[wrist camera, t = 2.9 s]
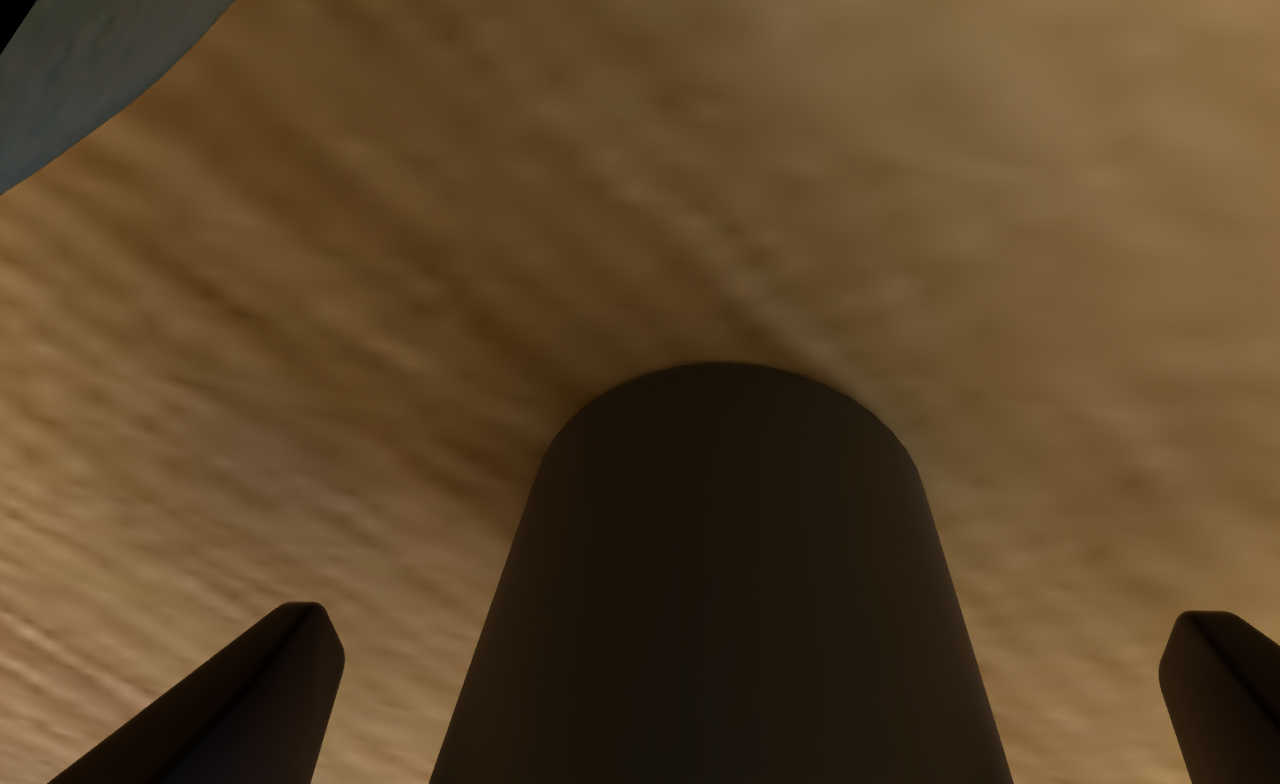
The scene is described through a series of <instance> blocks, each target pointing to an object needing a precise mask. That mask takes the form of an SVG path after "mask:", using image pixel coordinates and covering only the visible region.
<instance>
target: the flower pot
mask: <svg viewBox="0 0 1280 784" xmlns="http://www.w3.org/2000/svg"><path fill="white" fill-rule="evenodd" d="M234 1H235V0H0V195H2V194H3V193H5V192H6V191H8V190H9V189H11V188H13V187H14V186H16V185H17V184H19V183H20V182H22V181H23V180H25V179H26V178H28V177H30V176H31V175H33V174H34V173H36V172H37V171H39V170H40V169H42V168H43V167H44V166H46V165H47V164H49V163H50V162H51V161H53V160H54V159H55V158H57V157H58V156H60V155H61V154H62V153H64V152H65V151H66V150H68V149H69V148H71V147H72V146H73V145H75V144H76V143H77V142H79V141H80V140H82V139H83V138H84V137H86V136H87V135H88V134H90V133H91V132H93V131H94V130H95V129H97V128H98V127H99V126H101V125H102V124H104V123H105V122H106V121H108V120H109V119H110V118H112V117H113V116H115V115H116V114H117V113H119V112H120V111H121V110H123V109H124V108H125V107H127V106H128V105H130V104H131V103H132V102H133V101H134V100H135V99H137V98H138V97H139V96H140V95H141V94H142V93H144V92H145V91H146V90H147V89H148V88H149V87H151V86H152V85H153V84H154V83H155V82H156V81H158V80H159V79H160V78H161V77H162V76H163V75H164V74H165V73H166V72H167V71H168V70H169V69H170V68H171V67H172V66H173V65H174V64H175V63H176V62H177V61H178V60H179V59H180V58H181V57H182V56H183V55H184V54H185V53H187V52H188V51H189V50H190V49H191V48H192V47H193V46H194V45H195V44H196V43H197V42H198V41H199V40H200V38H201V37H202V36H203V35H204V34H205V33H206V32H207V31H208V30H209V28H210V27H211V26H212V25H213V24H214V23H215V22H216V21H217V20H218V18H219V17H220V16H221V15H222V14H223V13H224V12H225V11H226V10H227V8H228V7H229V6H230V5H231V4H232V3H233V2H234Z"/></svg>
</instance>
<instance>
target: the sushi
mask: <svg viewBox="0 0 1280 784" xmlns="http://www.w3.org/2000/svg"><path fill="white" fill-rule="evenodd" d="M429 784H1014V782H1013V779H1012V776H1011V773H1010V769H1009V766H1008V763H1007V759H1006V756H1005V753H1004V750H1003V746H1002V743H1001V740H1000V736H999V733H998V730H997V727H996V723H995V720H994V717H993V713H992V710H991V707H990V704H989V700H988V697H987V694H986V691H985V687H984V684H983V681H982V677H981V674H980V671H979V668H978V664H977V661H976V658H975V654H974V651H973V648H972V645H971V641H970V638H969V635H968V631H967V628H966V625H965V622H964V618H963V615H962V612H961V609H960V605H959V602H958V599H957V595H956V592H955V589H954V586H953V582H952V579H951V576H950V572H949V569H948V566H947V563H946V559H945V556H944V553H943V549H942V546H941V543H940V540H939V536H938V533H937V530H936V527H935V523H934V520H933V517H932V513H931V510H930V507H929V504H928V500H927V497H926V494H925V490H924V488H923V485H922V482H921V479H920V476H919V473H918V470H917V468H916V467H915V465H914V463H913V461H912V459H911V458H910V456H909V454H908V452H907V450H906V449H905V448H904V446H903V445H902V444H901V443H900V441H899V440H898V439H897V438H896V436H895V435H894V434H893V432H892V431H891V430H890V429H889V428H888V427H886V426H885V425H884V424H883V423H882V422H881V421H880V420H879V419H878V418H877V417H876V416H875V415H874V414H872V413H871V412H870V411H868V410H867V409H865V408H864V407H862V406H861V405H860V404H858V403H857V402H855V401H854V400H853V399H851V398H850V397H848V396H846V395H844V394H842V393H840V392H838V391H836V390H834V389H832V388H831V387H829V386H827V385H825V384H822V383H819V382H817V381H814V380H811V379H809V378H806V377H803V376H801V375H798V374H794V373H790V372H786V371H782V370H778V369H774V368H768V367H761V366H753V365H746V364H715V363H712V364H701V365H691V366H682V367H677V368H673V369H668V370H663V371H659V372H655V373H652V374H649V375H646V376H643V377H640V378H637V379H634V380H631V381H629V382H627V383H625V384H623V385H621V386H619V387H617V388H615V389H613V390H611V391H608V392H607V393H605V394H604V395H602V396H601V397H599V398H598V399H596V400H595V401H593V402H592V403H590V404H589V405H587V406H585V407H584V408H583V409H582V410H581V411H580V412H579V413H578V414H576V415H575V416H574V417H573V418H572V419H571V420H570V421H569V422H567V424H566V425H565V426H564V427H563V429H562V430H561V431H560V432H559V433H558V435H557V436H556V437H555V438H554V439H553V441H552V443H551V444H550V446H549V448H548V450H547V451H546V453H545V455H544V456H543V459H542V461H541V464H540V466H539V469H538V472H537V474H536V477H535V480H534V483H533V486H532V489H531V491H530V494H529V497H528V500H527V503H526V506H525V509H524V512H523V514H522V517H521V520H520V523H519V526H518V529H517V532H516V534H515V537H514V540H513V543H512V546H511V549H510V552H509V555H508V557H507V560H506V563H505V566H504V569H503V572H502V575H501V578H500V580H499V583H498V586H497V589H496V592H495V595H494V598H493V600H492V603H491V606H490V609H489V612H488V615H487V618H486V621H485V623H484V626H483V629H482V632H481V635H480V638H479V641H478V643H477V646H476V649H475V652H474V655H473V658H472V661H471V664H470V666H469V669H468V672H467V675H466V678H465V681H464V684H463V687H462V689H461V692H460V695H459V698H458V701H457V704H456V707H455V709H454V712H453V715H452V718H451V721H450V724H449V727H448V730H447V732H446V735H445V738H444V741H443V744H442V747H441V750H440V753H439V755H438V758H437V761H436V764H435V767H434V770H433V773H432V775H431V778H430V781H429Z"/></svg>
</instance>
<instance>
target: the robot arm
mask: <svg viewBox="0 0 1280 784" xmlns="http://www.w3.org/2000/svg"><path fill="white" fill-rule="evenodd" d="M344 663H345V654H344V649H343V646H342V644H341V641H340V639H339V637H338V635H337V633H336V631H335V628H334V626H333V624H332V622H331V620H330V618H329V616H328V613H327V611H326V609H325V608H324V607H323V606H322V605H321V604H319V603H317V602H287V603H284V604H282V605H280V606H278V607H277V608H275V609H274V610H273V611H271V612H270V613H269V614H268V615H266V616H265V617H264V618H262V619H261V620H260V621H258V622H257V623H256V624H254V625H253V626H252V627H251V628H249V629H248V630H247V631H245V632H244V633H243V634H241V635H240V636H239V637H238V638H236V639H235V640H234V641H232V642H231V643H230V644H228V645H227V646H226V647H224V648H223V649H222V650H221V651H219V652H218V653H217V654H215V655H214V656H213V657H211V658H210V659H209V660H208V661H206V662H205V663H204V664H202V665H201V666H200V667H198V668H197V669H196V670H194V671H193V672H192V673H191V674H189V675H188V676H187V677H185V678H184V679H183V680H181V681H180V682H179V683H178V684H176V685H175V686H174V687H172V688H171V689H170V690H168V691H167V692H166V693H164V694H163V695H162V696H161V697H159V698H158V699H157V700H155V701H154V702H153V703H151V704H150V705H149V706H147V707H146V708H145V709H144V710H142V711H141V712H140V713H138V714H137V715H136V716H134V717H133V718H132V719H131V720H129V721H128V722H127V723H125V724H124V725H123V726H121V727H120V728H119V729H117V730H116V731H115V732H114V733H112V734H111V735H110V736H108V737H107V738H106V739H104V740H103V741H102V742H101V743H99V744H98V745H97V746H95V747H94V748H93V749H91V750H90V751H89V752H87V753H86V754H85V755H84V756H82V757H81V758H80V759H78V760H77V761H76V762H74V763H73V764H72V765H71V766H69V767H68V768H67V769H65V770H64V771H63V772H61V773H60V774H59V775H57V776H56V777H55V778H54V779H52V780H51V781H50V782H48V783H47V784H310V783H311V780H312V776H313V773H314V769H315V766H316V763H317V759H318V756H319V752H320V749H321V745H322V742H323V739H324V735H325V732H326V728H327V725H328V722H329V718H330V715H331V711H332V708H333V704H334V701H335V698H336V694H337V691H338V687H339V684H340V681H341V677H342V674H343V670H344ZM1159 682H1160V687H1161V691H1162V694H1163V697H1164V700H1165V703H1166V706H1167V709H1168V712H1169V715H1170V718H1171V721H1172V725H1173V728H1174V731H1175V734H1176V737H1177V740H1178V743H1179V746H1180V749H1181V752H1182V755H1183V758H1184V761H1185V764H1186V767H1187V770H1188V773H1189V776H1190V779H1191V782H1192V784H1280V646H1279V645H1278V644H1277V643H1275V642H1274V641H1272V640H1271V639H1270V638H1268V637H1267V636H1265V635H1264V634H1263V633H1261V632H1260V631H1258V630H1257V629H1256V628H1254V627H1253V626H1252V625H1250V624H1249V623H1247V622H1246V621H1245V620H1243V619H1242V618H1240V617H1238V616H1237V615H1235V614H1233V613H1230V612H1226V611H1185V612H1183V613H1182V614H1181V615H1179V616H1178V618H1177V620H1176V622H1175V624H1174V627H1173V629H1172V632H1171V635H1170V637H1169V640H1168V643H1167V645H1166V648H1165V651H1164V653H1163V656H1162V658H1161V661H1160V665H1159Z"/></svg>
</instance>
